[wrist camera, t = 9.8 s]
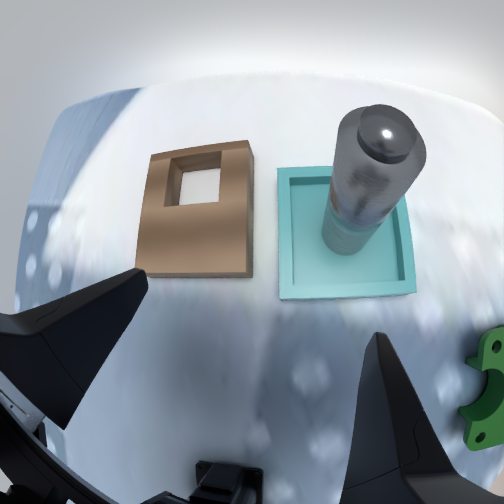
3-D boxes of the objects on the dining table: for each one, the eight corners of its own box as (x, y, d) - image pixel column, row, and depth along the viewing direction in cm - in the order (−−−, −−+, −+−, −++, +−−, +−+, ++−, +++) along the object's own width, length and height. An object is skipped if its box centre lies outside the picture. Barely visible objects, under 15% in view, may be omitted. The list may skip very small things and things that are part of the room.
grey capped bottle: (356, 263, 21) (425, 187, 8) (313, 242, 22) (325, 141, 9) (373, 222, 22) (438, 117, 9) (332, 202, 23) (355, 80, 10)
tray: (405, 294, 21) (416, 292, 19) (281, 300, 23) (279, 298, 20) (391, 179, 23) (398, 166, 21) (279, 181, 25) (277, 168, 23)
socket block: (252, 277, 24) (245, 272, 21) (151, 277, 26) (134, 272, 23) (253, 157, 27) (248, 139, 24) (163, 168, 28) (151, 154, 25)
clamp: (454, 345, 22) (482, 311, 16) (496, 339, 20) (531, 304, 13) (449, 451, 16) (482, 456, 9) (495, 440, 13) (537, 437, 7)
